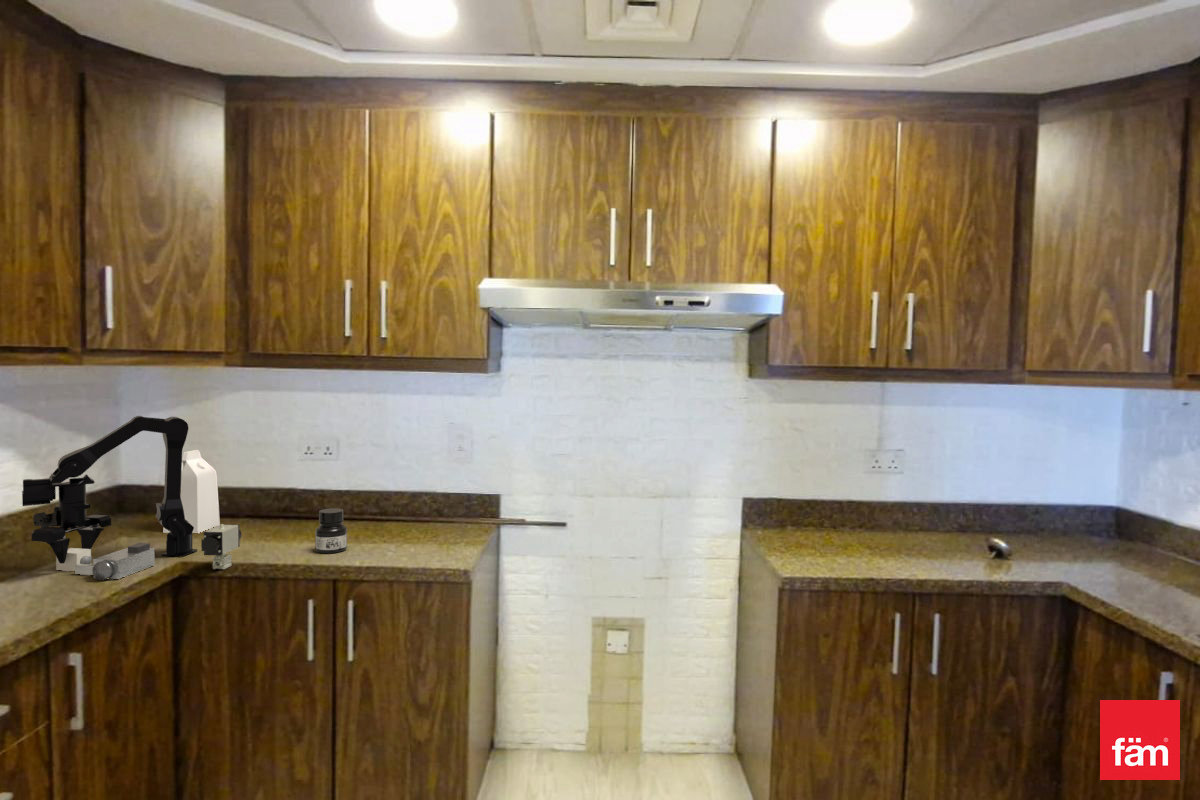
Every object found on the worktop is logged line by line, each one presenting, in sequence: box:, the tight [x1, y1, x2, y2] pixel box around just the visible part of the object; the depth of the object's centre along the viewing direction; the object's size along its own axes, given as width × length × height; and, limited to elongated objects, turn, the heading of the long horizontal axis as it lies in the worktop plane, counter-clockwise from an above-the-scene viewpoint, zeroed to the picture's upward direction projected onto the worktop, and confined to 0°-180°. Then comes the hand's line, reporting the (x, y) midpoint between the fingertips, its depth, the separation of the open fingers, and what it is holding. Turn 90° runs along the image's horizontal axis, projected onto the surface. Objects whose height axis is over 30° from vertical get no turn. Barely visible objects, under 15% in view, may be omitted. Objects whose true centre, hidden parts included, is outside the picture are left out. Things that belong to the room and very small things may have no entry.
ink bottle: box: [314, 507, 348, 554], centre depth 204 cm, size 10×9×12 cm
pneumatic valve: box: [200, 523, 243, 571], centre depth 185 cm, size 6×12×12 cm, turn 179°
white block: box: [55, 547, 93, 572], centre depth 181 cm, size 4×7×5 cm, turn 84°
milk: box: [162, 449, 221, 534], centre depth 226 cm, size 12×12×26 cm
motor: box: [74, 542, 156, 581], centre depth 179 cm, size 14×14×6 cm
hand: (73, 559), depth 181 cm, fingers open, 7 cm apart
